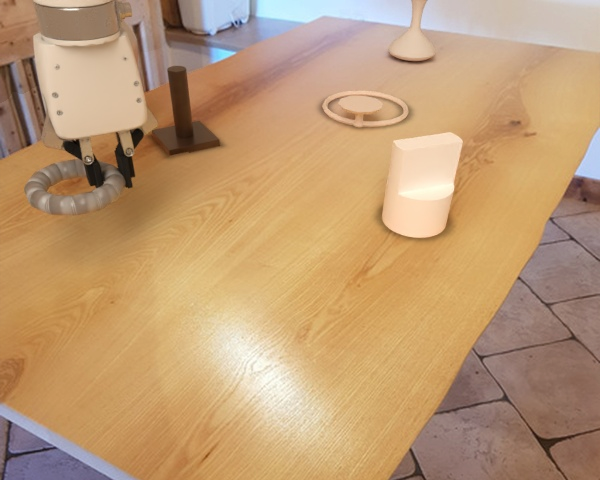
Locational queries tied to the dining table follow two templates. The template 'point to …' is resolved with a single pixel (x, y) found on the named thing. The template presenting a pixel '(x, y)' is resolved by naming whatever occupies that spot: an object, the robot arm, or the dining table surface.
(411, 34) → the flower in vase
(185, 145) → the stand
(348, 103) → the hand towel holder
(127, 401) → the dining table surface
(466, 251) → the dining table surface
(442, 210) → the cylinder with rectangular tab
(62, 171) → the segmented ring
